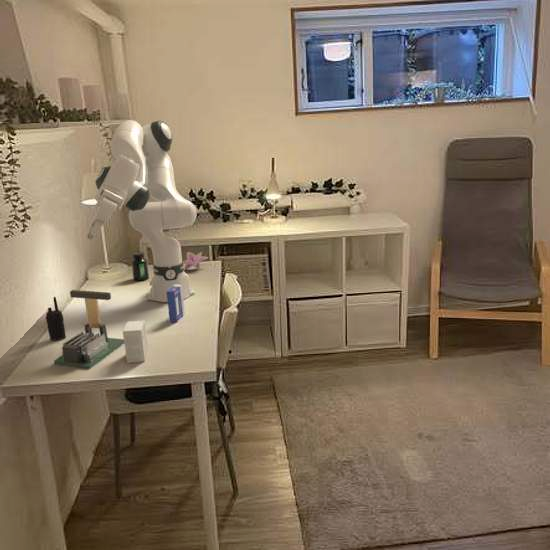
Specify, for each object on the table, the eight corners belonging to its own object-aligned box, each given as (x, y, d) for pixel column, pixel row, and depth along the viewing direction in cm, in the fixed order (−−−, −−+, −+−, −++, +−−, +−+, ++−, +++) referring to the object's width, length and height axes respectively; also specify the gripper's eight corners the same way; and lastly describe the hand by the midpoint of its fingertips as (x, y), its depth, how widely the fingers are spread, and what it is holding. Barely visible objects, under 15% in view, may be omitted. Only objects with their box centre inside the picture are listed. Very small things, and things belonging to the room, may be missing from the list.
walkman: (177, 322, 201) (173, 290, 198) (169, 322, 202) (166, 290, 198) (185, 314, 209) (182, 283, 205) (178, 314, 209) (175, 283, 206)
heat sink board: (91, 339, 190) (88, 316, 188) (125, 342, 186) (121, 319, 184) (54, 364, 173) (49, 339, 171) (90, 368, 169) (86, 343, 167)
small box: (131, 352, 179) (126, 321, 176) (148, 350, 179) (145, 320, 176) (126, 363, 172) (122, 331, 168) (145, 361, 172) (141, 330, 169)
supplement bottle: (146, 281, 250) (143, 255, 246) (131, 281, 250) (128, 255, 247) (150, 276, 256) (147, 251, 253) (135, 277, 257) (132, 251, 253)
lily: (212, 270, 266) (206, 251, 267) (206, 267, 254) (200, 247, 255) (189, 278, 267) (183, 259, 268) (182, 276, 255) (175, 256, 256)
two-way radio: (67, 335, 194) (60, 294, 190) (65, 341, 190) (57, 299, 186) (50, 337, 193) (43, 296, 189) (47, 342, 189) (40, 300, 185)
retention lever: (78, 324, 184) (72, 289, 180) (115, 328, 180) (110, 292, 176) (75, 326, 183) (69, 291, 179) (112, 329, 178) (107, 294, 175)
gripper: (96, 201, 193) (78, 237, 190) (105, 188, 174) (84, 227, 171) (113, 210, 195) (95, 245, 192) (123, 198, 177) (104, 237, 173)
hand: (90, 237), depth 181 cm, fingers open, 8 cm apart
